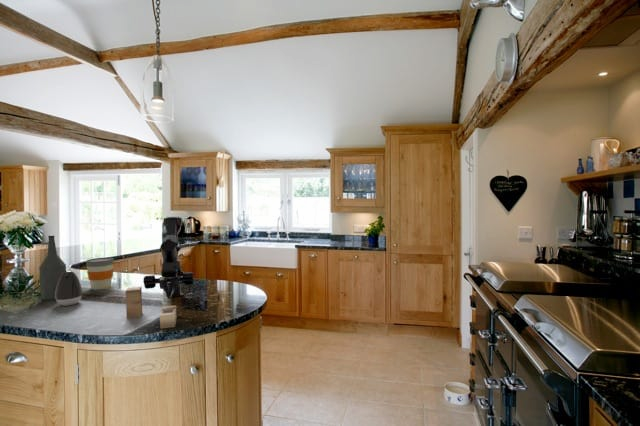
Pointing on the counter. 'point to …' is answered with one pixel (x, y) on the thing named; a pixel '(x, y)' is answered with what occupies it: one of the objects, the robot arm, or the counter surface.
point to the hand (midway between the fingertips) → (168, 298)
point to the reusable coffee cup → (100, 272)
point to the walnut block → (134, 302)
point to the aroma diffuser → (68, 289)
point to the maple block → (168, 317)
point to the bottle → (50, 271)
